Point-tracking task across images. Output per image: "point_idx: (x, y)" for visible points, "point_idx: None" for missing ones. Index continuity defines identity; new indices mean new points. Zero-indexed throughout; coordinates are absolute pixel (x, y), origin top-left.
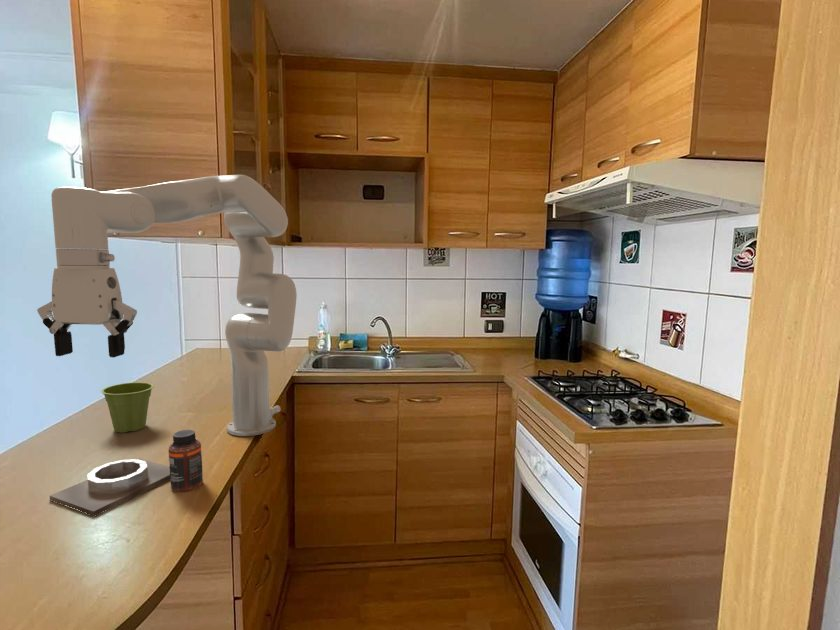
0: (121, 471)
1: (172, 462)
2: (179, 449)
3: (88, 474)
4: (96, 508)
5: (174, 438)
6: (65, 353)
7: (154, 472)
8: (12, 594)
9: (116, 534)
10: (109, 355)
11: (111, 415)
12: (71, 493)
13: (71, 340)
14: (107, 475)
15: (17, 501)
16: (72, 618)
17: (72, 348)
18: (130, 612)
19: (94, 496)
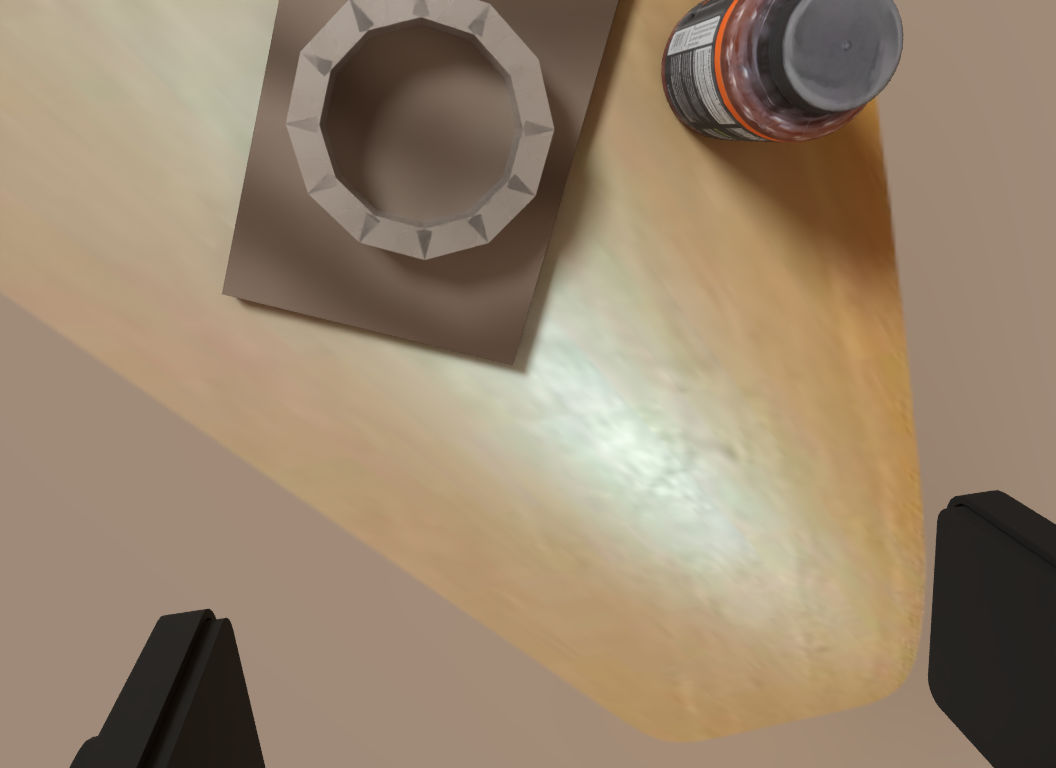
0: (365, 40)
1: (753, 138)
2: (822, 130)
3: (314, 194)
4: (507, 345)
5: (806, 105)
6: (253, 736)
7: (522, 3)
8: (593, 689)
9: (669, 433)
10: (945, 706)
11: None
12: (300, 261)
13: (182, 750)
14: (330, 94)
15: (93, 318)
16: (795, 711)
17: (214, 645)
18: (909, 671)
19: (421, 265)
